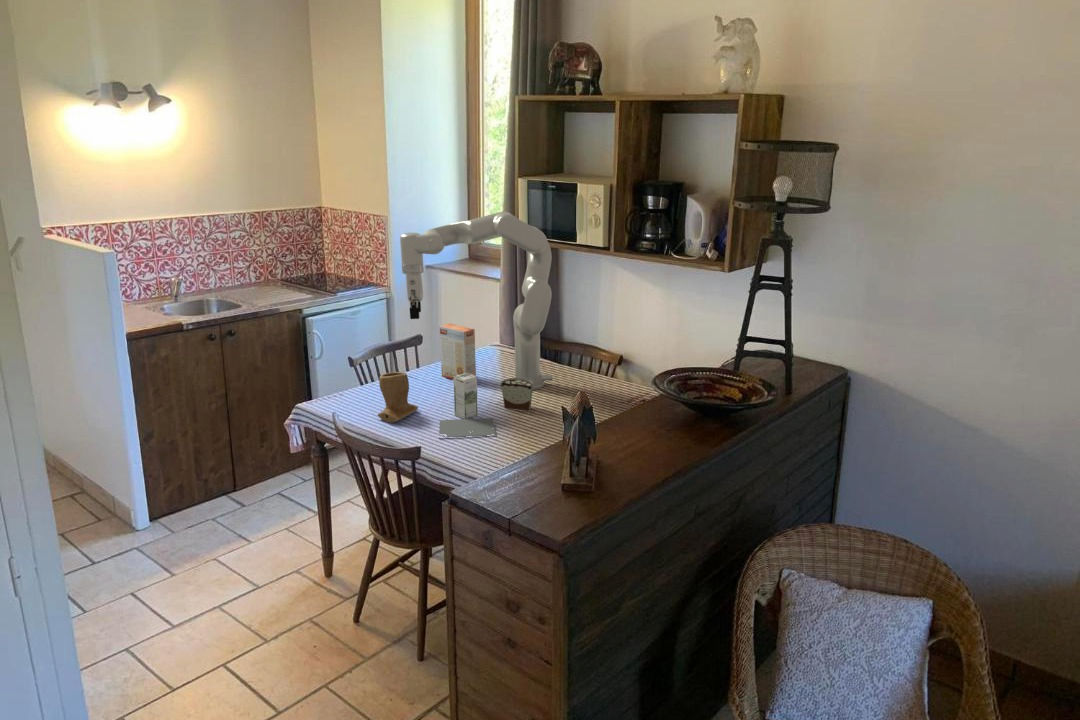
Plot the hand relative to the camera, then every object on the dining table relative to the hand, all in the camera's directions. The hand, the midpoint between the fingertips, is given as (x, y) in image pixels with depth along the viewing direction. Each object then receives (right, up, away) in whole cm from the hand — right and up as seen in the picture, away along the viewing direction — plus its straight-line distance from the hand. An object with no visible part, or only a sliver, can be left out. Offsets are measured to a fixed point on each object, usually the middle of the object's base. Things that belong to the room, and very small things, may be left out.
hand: (415, 315), depth 284 cm
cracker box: (+13, -24, +25) cm, 37 cm away
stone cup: (-5, -35, -13) cm, 38 cm away
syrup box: (+19, -35, -13) cm, 43 cm away
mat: (+21, -39, -25) cm, 50 cm away
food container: (+38, -33, -5) cm, 50 cm away
